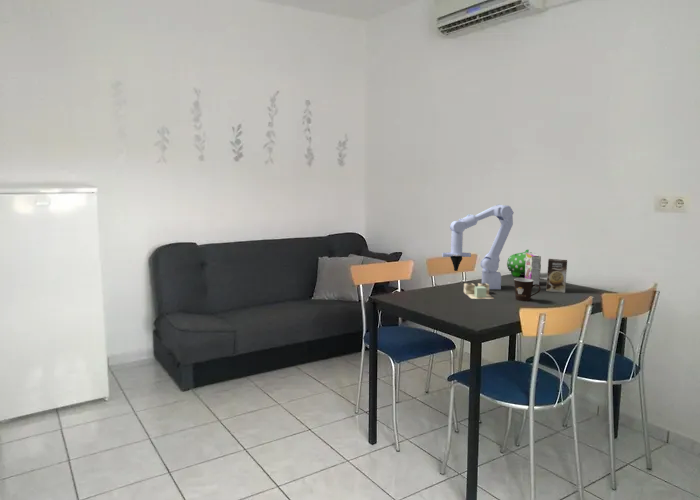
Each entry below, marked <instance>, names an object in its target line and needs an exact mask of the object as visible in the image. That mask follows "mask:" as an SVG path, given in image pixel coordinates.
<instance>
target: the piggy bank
mask: <svg viewBox="0 0 700 500" xmlns="http://www.w3.org/2000/svg"><path fill="white" fill-rule="evenodd" d="M529 250H530V249H526V250H525V251H524V252H523V251H522V252H517V253H513V254H511V255H510V256H508V259H507V261H506V266H507V267H506V268H507V269H508V270H509V272H510V273H511V275H512V276H513V278H515V277H516V278H519V277H520V276H521V275H523V276H524V277H525V261H526V253H533V252H529ZM541 266H542V265H541ZM541 266H540V271H541Z"/></svg>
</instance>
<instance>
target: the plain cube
mask: <svg viewBox="0 0 700 500" xmlns="http://www.w3.org/2000/svg"><path fill="white" fill-rule="evenodd" d="M486 289H487V288H486V287H484V286H478V285H477V286H476V285H475V291H474V295H475V296H476V297H486Z"/></svg>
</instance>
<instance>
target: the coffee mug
mask: <svg viewBox="0 0 700 500" xmlns="http://www.w3.org/2000/svg"><path fill="white" fill-rule="evenodd" d="M513 280H514V281H513V282H514V294H515V300H516V301H519V302H530V301H531V297H533V296H536V294H537V295H538V293H540V291H541V290H542V289H541V286H539V285H537V284H534V285H533V281H534V280H532V279H527V278H525V277H524V278H523V277H520V278H519V277H516V278H514V279H513ZM535 285H536V286H535ZM534 287H538V290H537V292H534V293H533V294H532V291H533V288H534Z"/></svg>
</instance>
